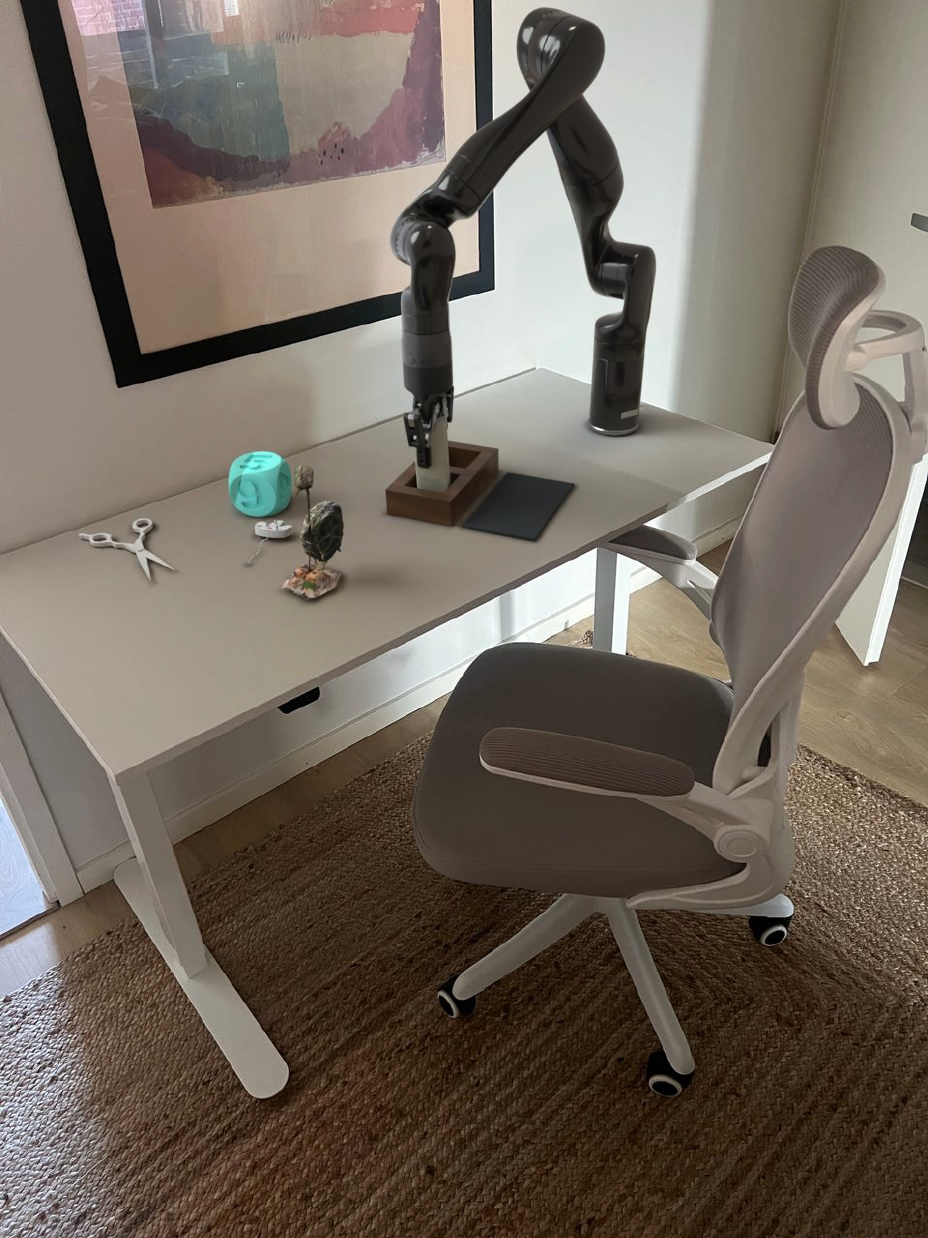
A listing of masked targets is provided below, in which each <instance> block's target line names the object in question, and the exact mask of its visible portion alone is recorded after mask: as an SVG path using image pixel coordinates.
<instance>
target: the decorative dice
mask: <svg viewBox="0 0 928 1238" xmlns="http://www.w3.org/2000/svg"><path fill="white" fill-rule="evenodd" d="M292 486H293V478H292V471H291V467H290V464H289V463H288V462H287V461H286V460H285V458H283V457H282V456H280V455H279V454H277V453H275V452H272V451H252V452H248V453H245V454H242V455H240V456H238V457H237V458H236V459H235V460H234V461H233V462H232V464H231V466H230V469H229V473H228V495H229V498H230V501H231V503H232V504H233V506H234V507H235V508H236V509H237V510H238V511H239V512H241V513H243V514H244V515H246V516H249V517H254V518H255V517H256V518H266V517H272V516H274V515H278V514H279V513H281V512H283V511H284V510H286V508H287V507H288V506H289V503H290V501H291V495H292V490H293V489H292V488H293V487H292Z"/></svg>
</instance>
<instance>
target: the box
mask: <svg viewBox="0 0 928 1238" xmlns="http://www.w3.org/2000/svg"><path fill="white" fill-rule="evenodd" d="M422 424H423V426H425V427H429V425H430V424H426V423H422ZM424 436H425V438H426V432H424ZM413 437H414V436H413ZM448 441H449V438H448V429H447V422H446V416H442V415H441V414H440V417H439V418H438V419H436V427H435V432H433V433H432V437H431V445H430V446H431V460H432V466H431V467H430V468H429V469H425V468H420V467H418V465H417V451H416V447H413V451H414V452H413V453H414V461H415V464H416V476H417V488H418V489H424V490H429V491H435V492H440V493H444V492H445V491H446V490H447V489H448V488H449V487H450V486H451V484H450V469H449V452H448Z"/></svg>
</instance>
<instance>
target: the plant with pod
mask: <svg viewBox="0 0 928 1238" xmlns="http://www.w3.org/2000/svg"><path fill="white" fill-rule="evenodd" d="M314 472H315V471H314V469H313V467H312V466H310V465H308V464H302V463H301V464H299V465H296V466H295V469H294V474H293V486H294V487H295V488H296V491H295V497H296V498H298V497H299V493H300V492H302V491H304V490H305V492H306V502H307V503H306V504H307V514H306V515H305V517H304V520H303V522H302V527H301V532H300V536H299V537H300V540H301V546H302V550H303V552H304V554H306V555H307V556H308V563H307V564H302V565H300V566H299V567H297V568H296V569H295V570H294V571H293V573H292V574H290V576H287V577H286V580H285V581H284V583H283V585H282V586H281V588H282V590H290V592H293V593H296V596H299V597H300V596H301V597H302V599H304V600H307V601H308V600H312V599H315V598H317V597H320V596H322V595H323V594H325V593H327V592H329V591H332V590H333V589H335V588H336V587H337V586H338V583H339V579H340V578H341V574H342V573H343V572H341V571H334V570H329V569H326V568H325V567H326V565H327V563H328V562H329V560H331V559H332V558H333V557H334V555H335V554H336V552H337V551H338V552H339V553H342V550H341V547H342V543H343V542H342V541H343V538H344V536H345V535H344V534H345V533H344V529H345V524H344V523H345V522H344V517H343V510H342V506H341V505H340V504H342V503H343V501H342V500H341V501H340V504H339V503H337V502H336V501H331V500H322V501H321V502H319V503H318V504H317V505H315V506H313V507H312V508H311V504H310V503H311V500H310V498H311V496H310V495H311V494H310V489H312V488H313V485H314V481H315V479H314ZM312 558H313V560H314V564H312V563H311V562H312V561H311V559H312Z"/></svg>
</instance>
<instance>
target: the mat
mask: <svg viewBox="0 0 928 1238" xmlns="http://www.w3.org/2000/svg"><path fill="white" fill-rule="evenodd" d="M574 487H575V483H574V482H568V481H563V480H556V479H551V478H545V477H540V476H533V475H526V474H522V473H515V472H510V471H507V472H506V473H505V474H504V476H503V477H501V479H500V480H499V482H498V483H497V484H496V485H495V486H494V488H493V489H492V490H491V491H490V492H489V493H488V495H487V496H486V497H485V498H484V499H483V500H482V502H481V503H480V504H479V505H478V507H477V508H476V509H475V510H474V511H473V512H472V513H471V514H470V516H469V517H468V518H467V519H466V521H465V522H464V523H463V524H462V528H463V529H468V530H471V531H478V532H483V533H489V534H492V535H498V536H503V537H508V538H513V539H519V540H525V541H530V542H536V540H537V539H538V538H539V536H540V535H541V533H542V532H543V530H544V529H545V527H546V526H547V525H548V523H549V522H550V520H551V519H552V517H553V516H554V515H555V514H556V512H557V511H558V509H559V508H560V507H561V505H562V503H564V501H565V499H566V498H567V496H569V494H570V492H572V489H573V488H574Z"/></svg>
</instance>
